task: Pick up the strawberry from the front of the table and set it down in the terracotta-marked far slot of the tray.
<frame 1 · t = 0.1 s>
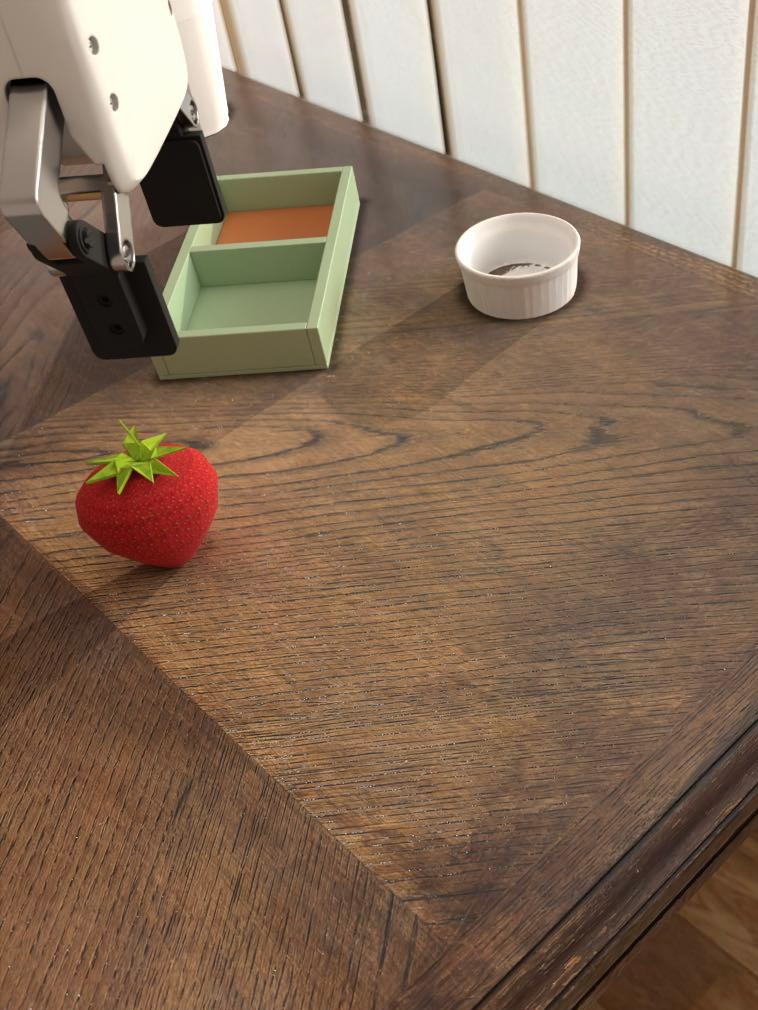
hand: (167, 282, 44), 20 cm above the table, tool pointing down, fingers open, 9 cm apart
tray: (271, 291, 81), on the table
strawberry: (180, 566, 61), on the table
ramekin: (522, 298, 78), on the table
foam cup: (196, 127, 102), on the table
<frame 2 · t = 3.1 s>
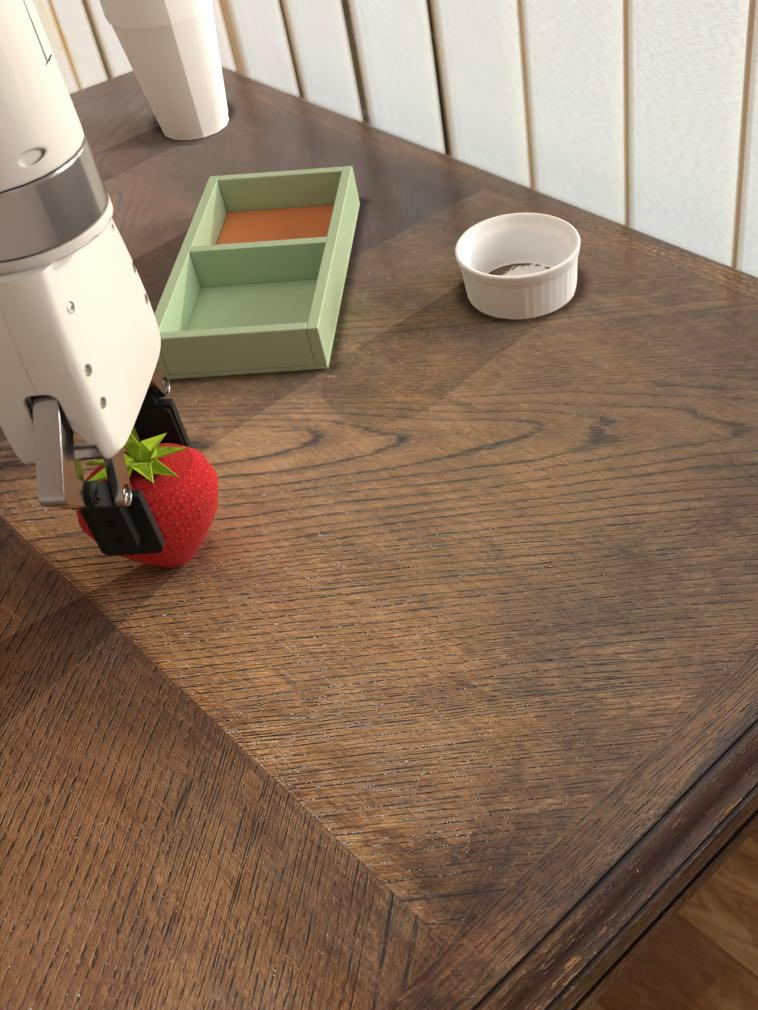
hand: (150, 500, 58), 5 cm above the table, tool pointing down, fingers closed on strawberry, 6 cm apart
strawberry: (180, 566, 61), on the table, touching gripper
everything else where it was.
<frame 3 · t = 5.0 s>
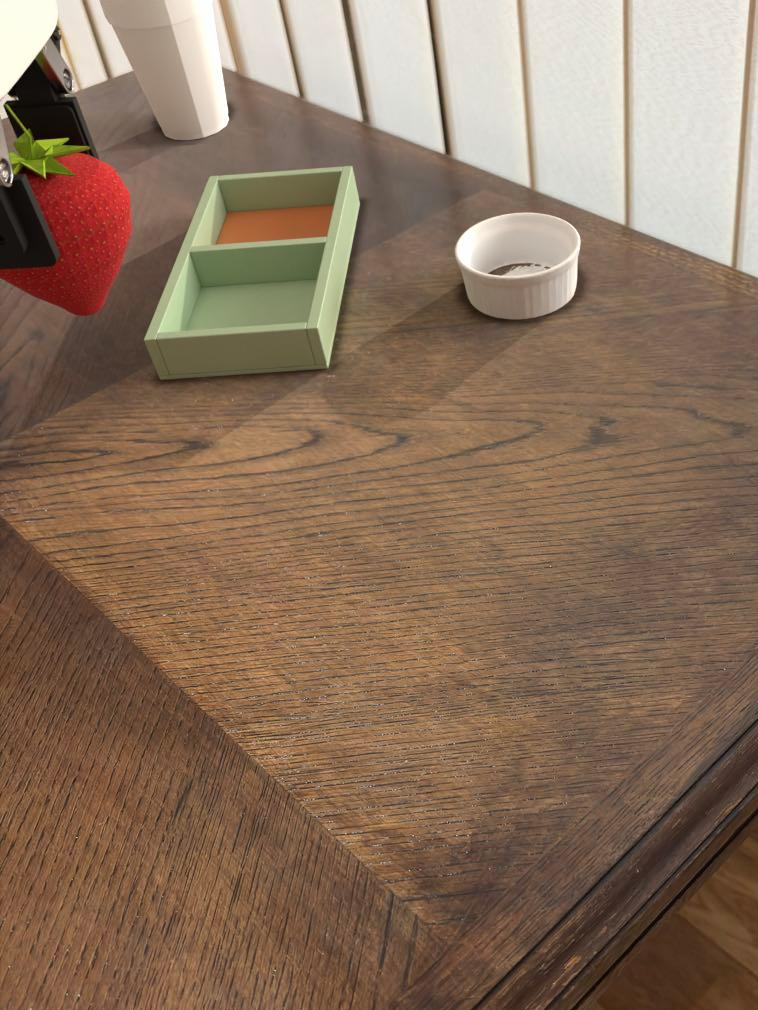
hand: (48, 218, 49), 20 cm above the table, tool pointing down, fingers closed on strawberry, 6 cm apart
strawberry: (90, 315, 52), point 15 cm above the table, touching gripper
everything else where it was.
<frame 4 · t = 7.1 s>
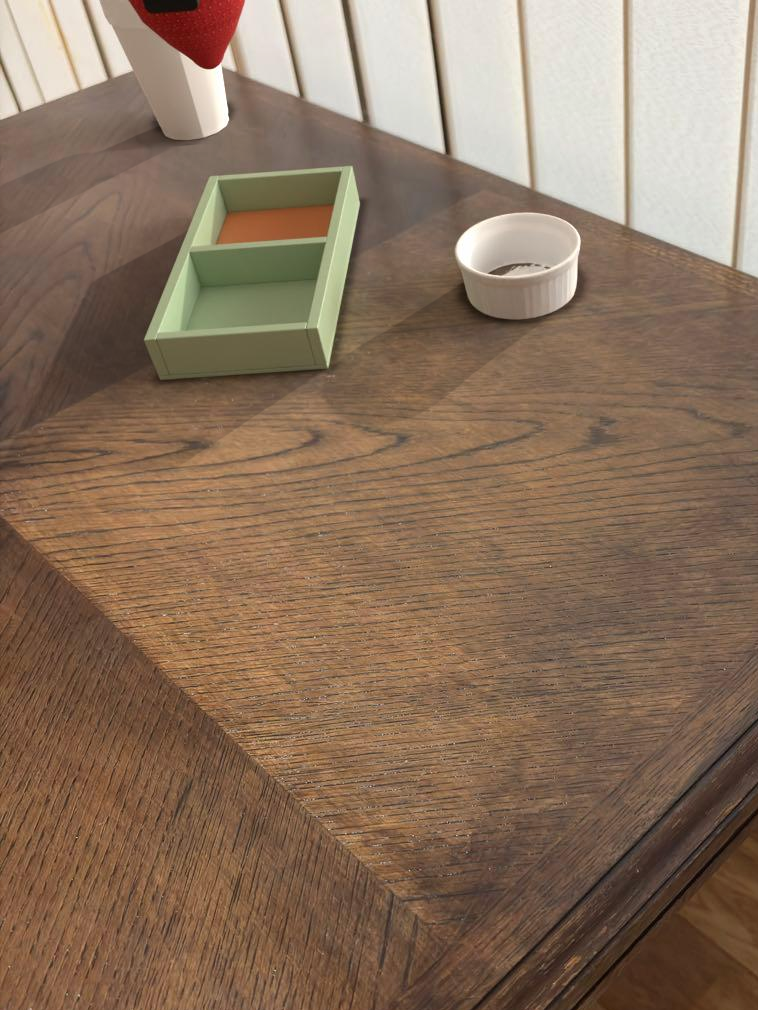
strawberry: (211, 71, 70), point 16 cm above the table, touching gripper
everything else where it was.
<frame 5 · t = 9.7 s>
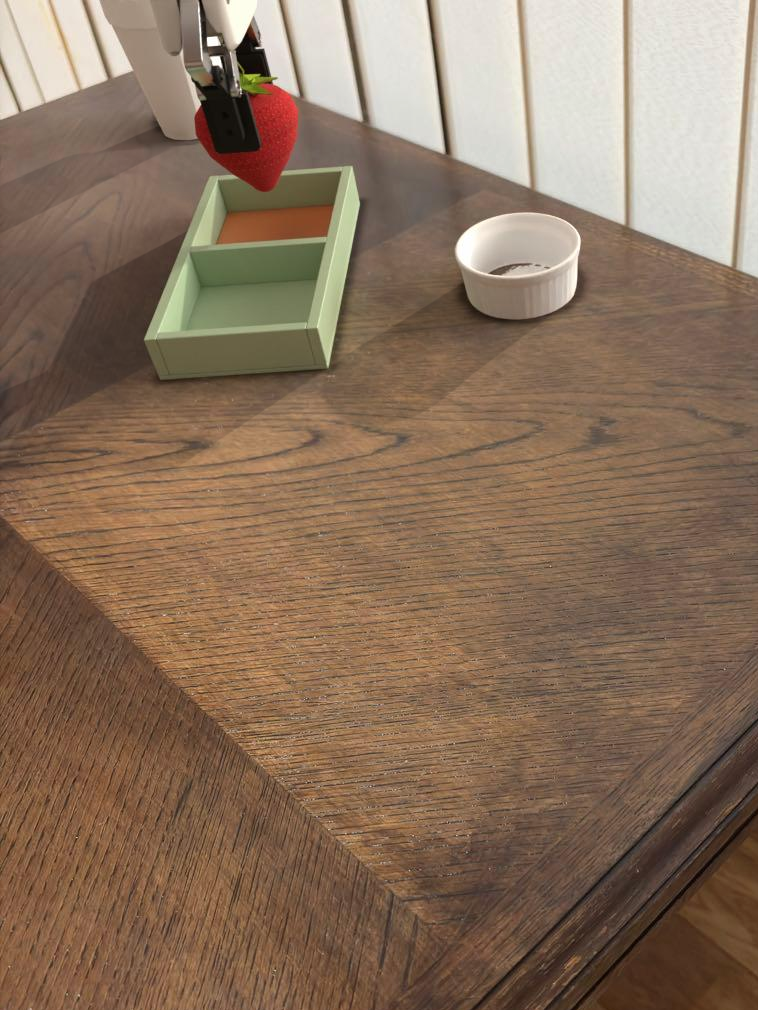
hand: (247, 125, 77), 10 cm above the table, tool pointing down, fingers closed on strawberry, 6 cm apart
strawberry: (266, 192, 81), point 5 cm above the table, touching gripper
everything else where it was.
when the fingers open (6 cm above the table, at t = 11.4 s): strawberry stays where it is, resting on tray.
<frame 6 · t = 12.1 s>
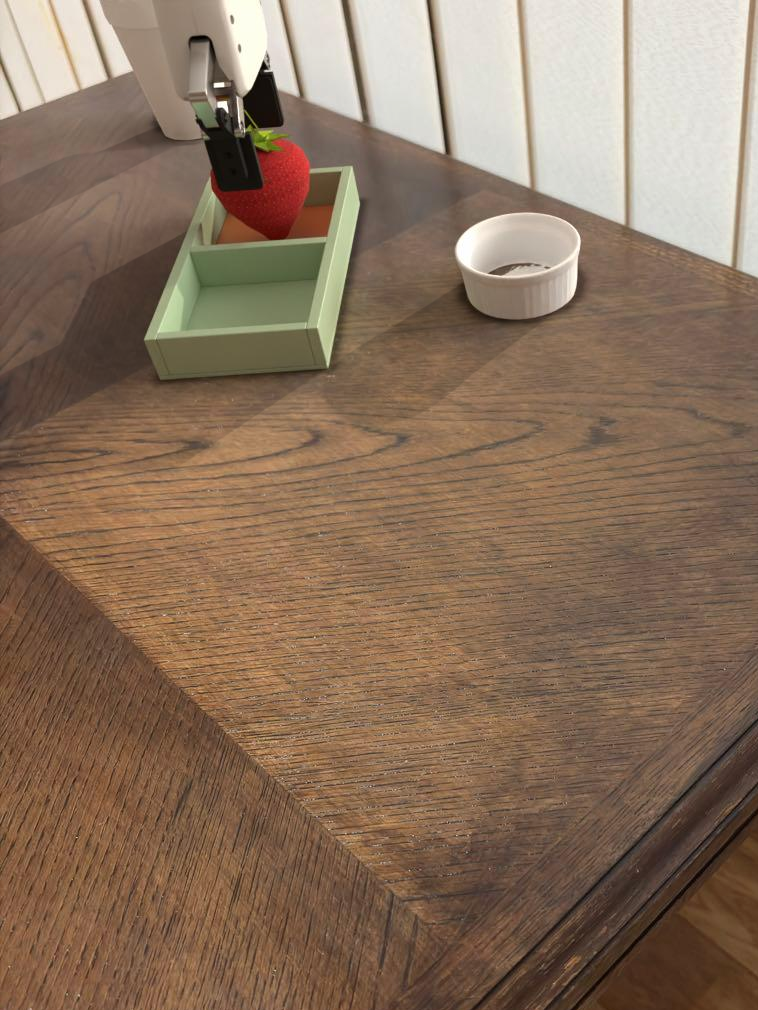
hand: (253, 156, 79), 8 cm above the table, tool pointing down, fingers open, 9 cm apart
strawberry: (279, 242, 84), point 1 cm above the table, touching tray
everything else where it was.
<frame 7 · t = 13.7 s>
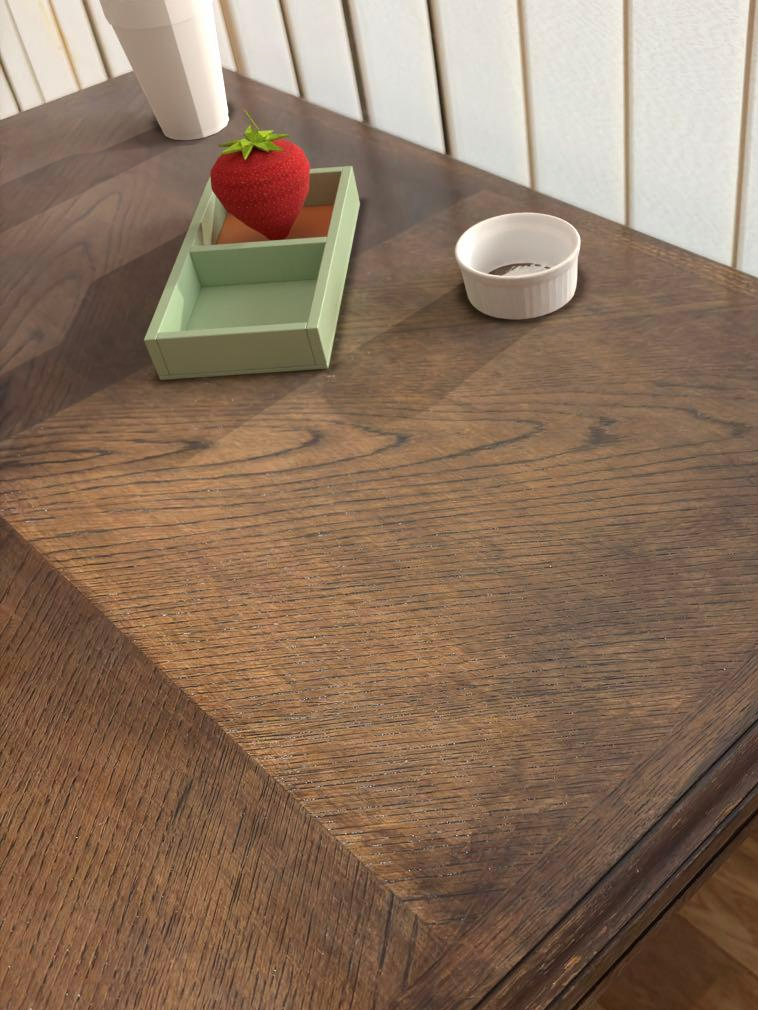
nothing on the table moved.
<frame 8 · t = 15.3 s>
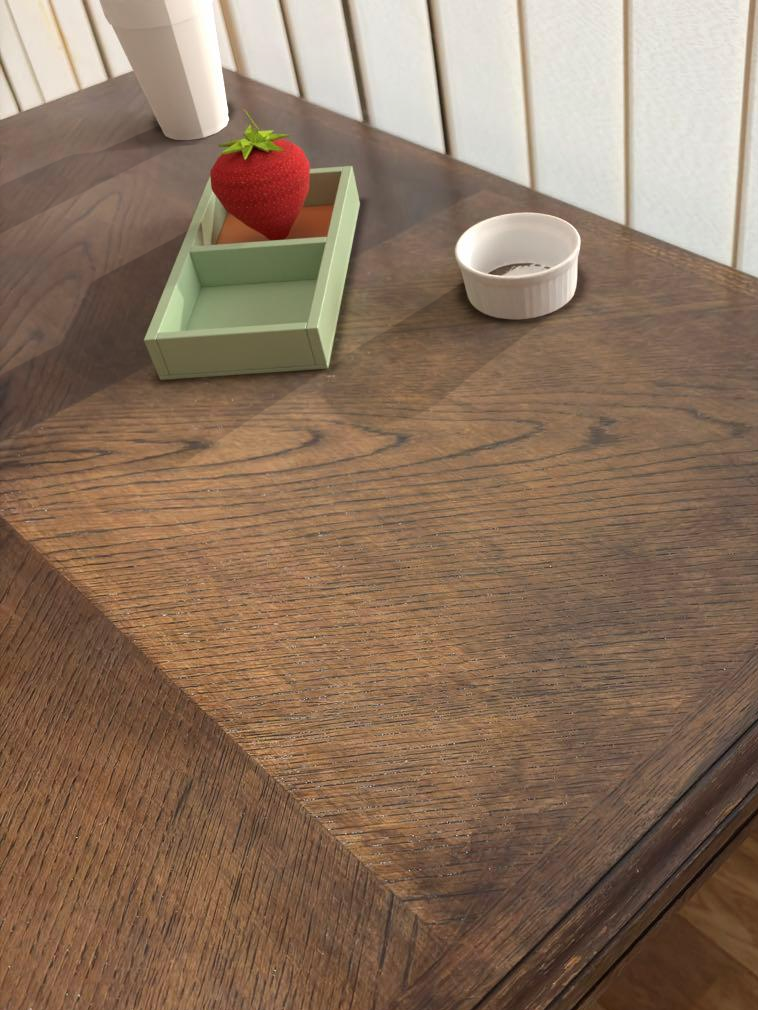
nothing on the table moved.
at the end: strawberry 0.0 cm from the target spot in the tray, point 1.0 cm above the tray's base; strawberry tilted 0°; the gripper is holding nothing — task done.
